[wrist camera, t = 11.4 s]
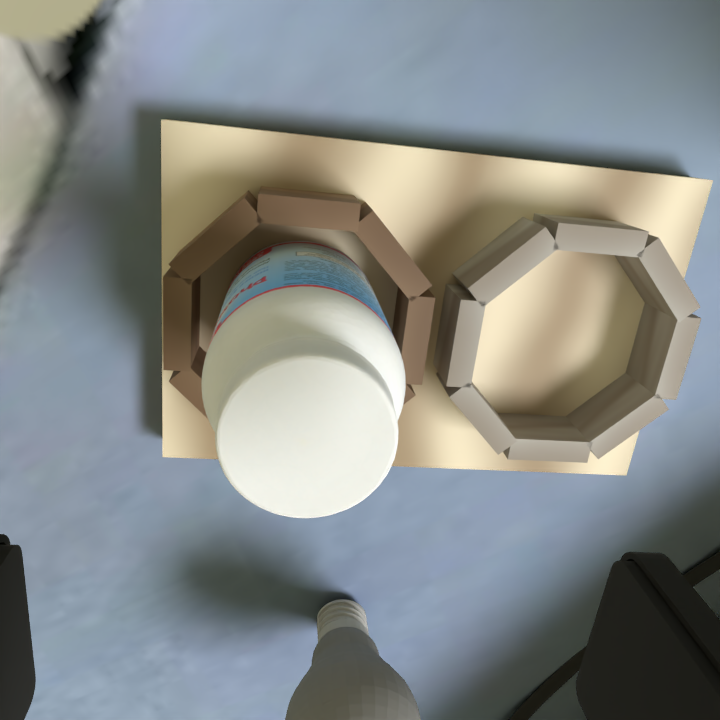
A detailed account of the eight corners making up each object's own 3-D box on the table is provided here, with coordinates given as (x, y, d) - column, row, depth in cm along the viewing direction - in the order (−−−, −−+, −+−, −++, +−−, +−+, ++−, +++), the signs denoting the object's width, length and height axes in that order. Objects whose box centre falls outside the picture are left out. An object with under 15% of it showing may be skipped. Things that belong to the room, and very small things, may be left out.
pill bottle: (234, 224, 24) (194, 305, 14) (386, 250, 25) (454, 344, 15) (217, 368, 26) (170, 531, 16) (359, 387, 27) (401, 552, 17)
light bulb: (415, 588, 34) (463, 767, 24) (362, 666, 35) (388, 862, 26) (316, 551, 32) (327, 727, 23) (265, 635, 34) (257, 831, 25)
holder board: (691, 177, 27) (755, 186, 23) (611, 459, 32) (653, 504, 28) (168, 119, 24) (146, 119, 20) (168, 440, 29) (151, 488, 25)
